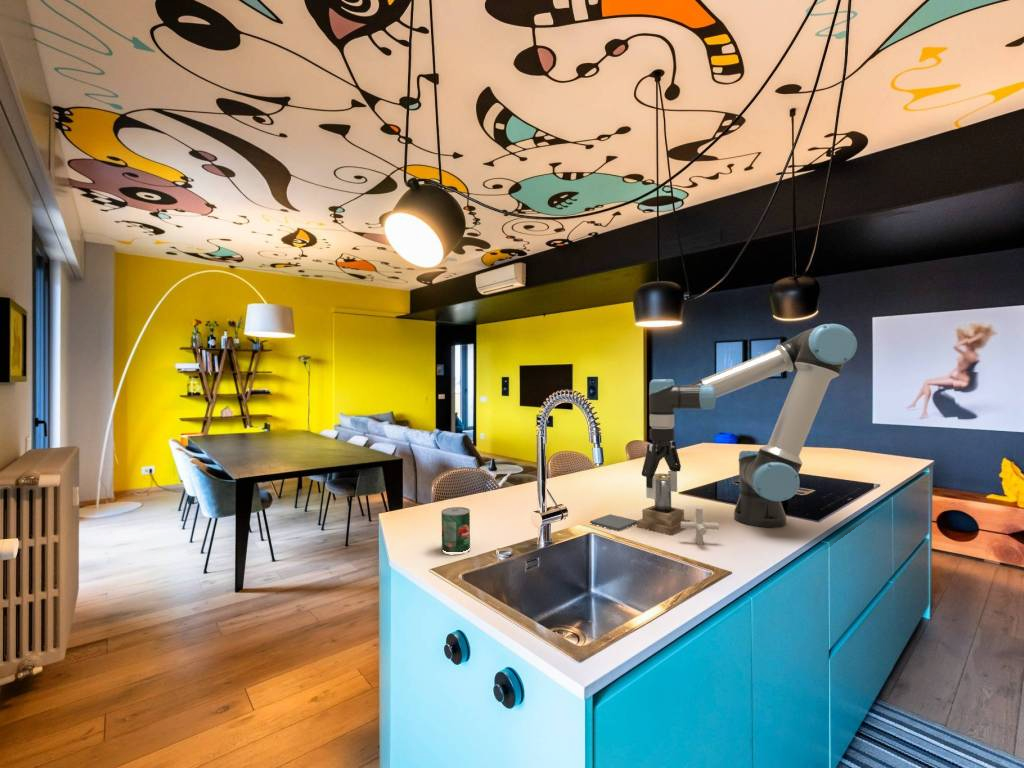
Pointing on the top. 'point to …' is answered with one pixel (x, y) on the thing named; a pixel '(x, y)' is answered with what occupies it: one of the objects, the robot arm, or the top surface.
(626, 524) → the pad
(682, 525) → the pipe connector
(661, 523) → the block
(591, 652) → the top surface
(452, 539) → the canned tomato
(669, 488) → the peg
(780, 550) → the top surface
